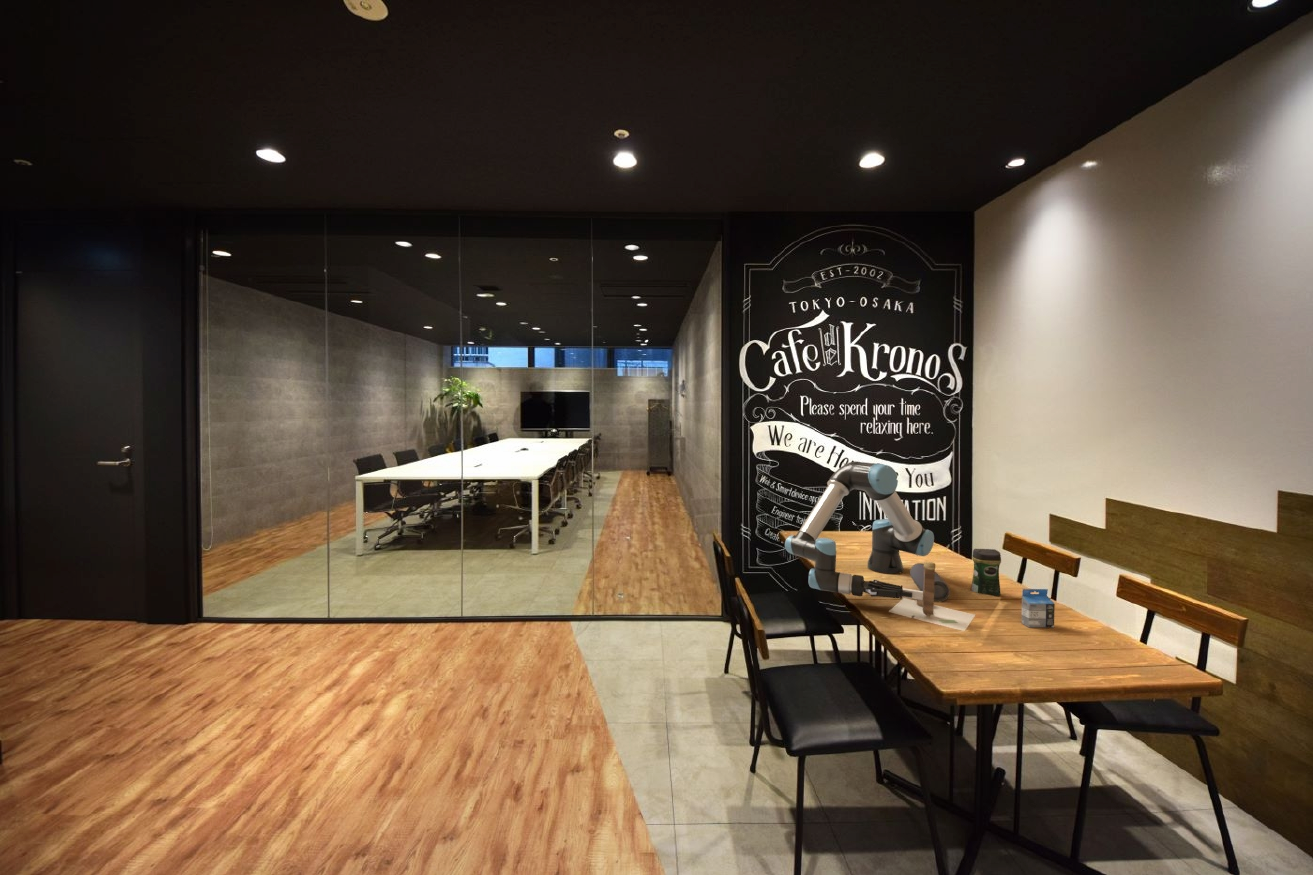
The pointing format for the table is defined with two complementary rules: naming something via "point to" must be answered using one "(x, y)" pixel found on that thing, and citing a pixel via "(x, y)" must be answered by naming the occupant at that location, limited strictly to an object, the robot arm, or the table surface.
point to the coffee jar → (986, 572)
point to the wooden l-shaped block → (928, 589)
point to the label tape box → (1037, 608)
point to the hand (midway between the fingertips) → (922, 595)
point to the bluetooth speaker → (939, 584)
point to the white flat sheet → (934, 614)
